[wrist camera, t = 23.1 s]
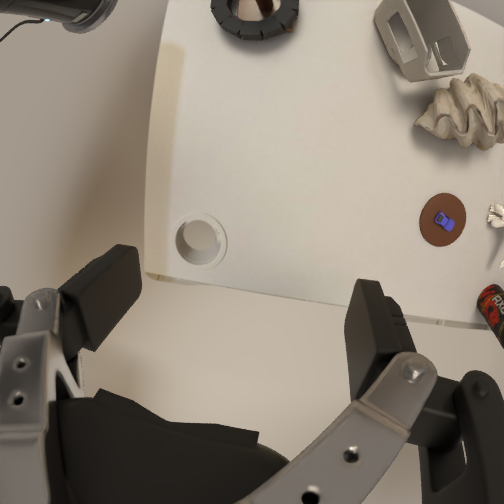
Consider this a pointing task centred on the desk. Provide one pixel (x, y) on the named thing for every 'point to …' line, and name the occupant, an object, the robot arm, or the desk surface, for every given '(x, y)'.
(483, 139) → the seashell
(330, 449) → the robot arm
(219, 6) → the dark grey segmented ring
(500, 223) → the dragon
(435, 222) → the round brown coaster
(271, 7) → the rack
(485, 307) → the deodorant
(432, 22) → the cable organizer
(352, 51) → the desk surface
